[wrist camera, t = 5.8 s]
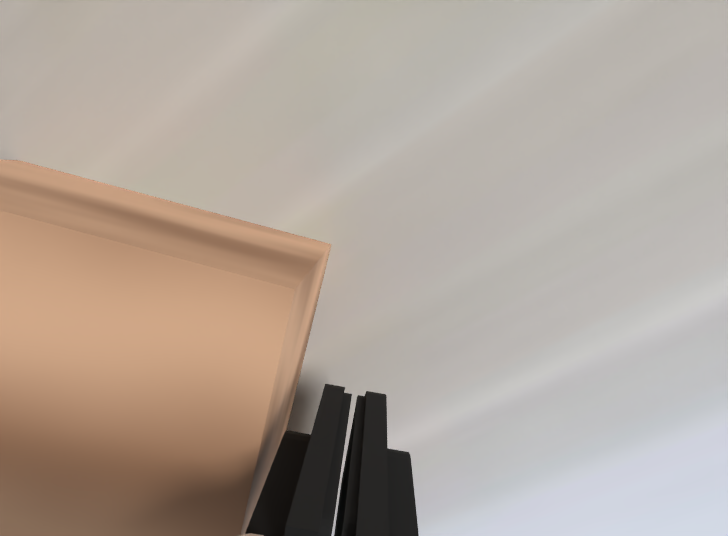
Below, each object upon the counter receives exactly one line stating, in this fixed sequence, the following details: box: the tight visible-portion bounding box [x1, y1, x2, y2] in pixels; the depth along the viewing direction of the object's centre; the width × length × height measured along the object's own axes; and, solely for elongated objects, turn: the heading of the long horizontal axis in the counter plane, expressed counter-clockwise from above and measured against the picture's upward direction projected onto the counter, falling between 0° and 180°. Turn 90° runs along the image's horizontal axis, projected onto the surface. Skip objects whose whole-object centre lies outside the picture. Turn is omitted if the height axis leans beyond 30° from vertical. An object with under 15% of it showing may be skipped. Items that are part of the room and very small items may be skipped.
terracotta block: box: [0, 160, 331, 536], centre depth 10 cm, size 10×10×5 cm
